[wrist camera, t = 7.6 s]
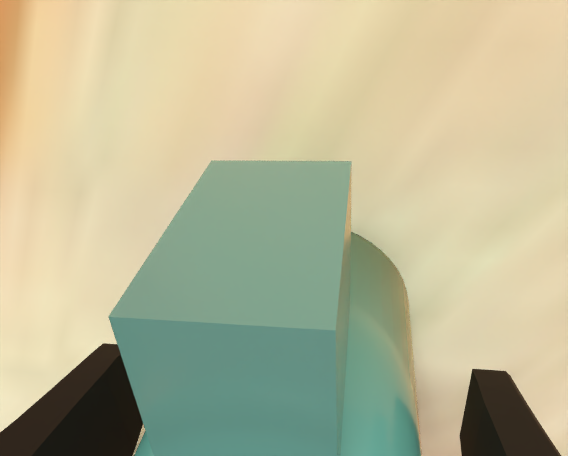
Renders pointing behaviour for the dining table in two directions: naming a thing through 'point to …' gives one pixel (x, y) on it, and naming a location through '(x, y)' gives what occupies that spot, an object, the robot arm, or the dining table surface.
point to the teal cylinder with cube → (269, 323)
